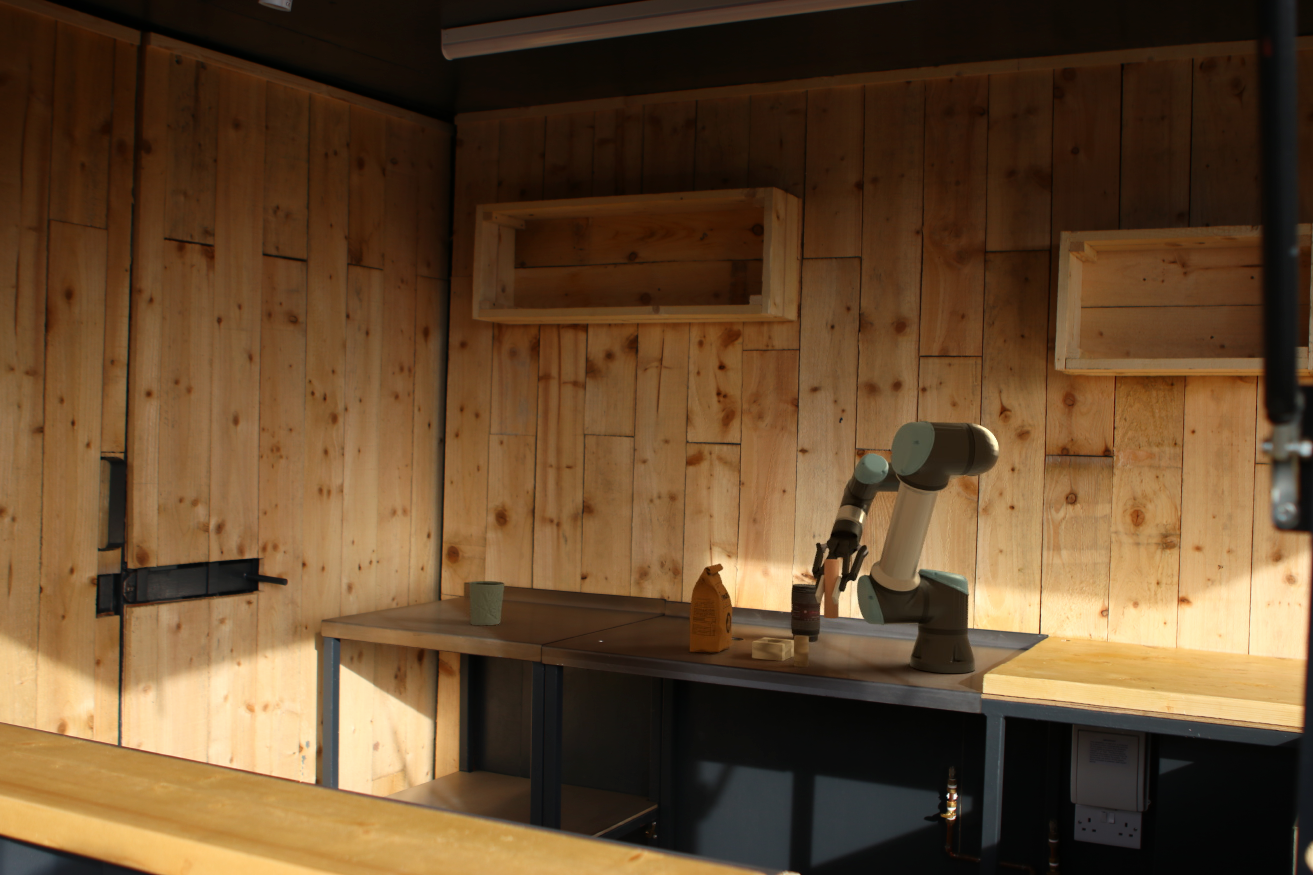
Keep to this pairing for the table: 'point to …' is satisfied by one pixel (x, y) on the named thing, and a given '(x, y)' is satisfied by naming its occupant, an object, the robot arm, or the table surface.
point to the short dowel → (801, 651)
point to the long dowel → (830, 588)
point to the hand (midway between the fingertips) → (826, 599)
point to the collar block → (773, 649)
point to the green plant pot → (486, 602)
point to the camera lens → (805, 611)
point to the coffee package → (710, 613)
